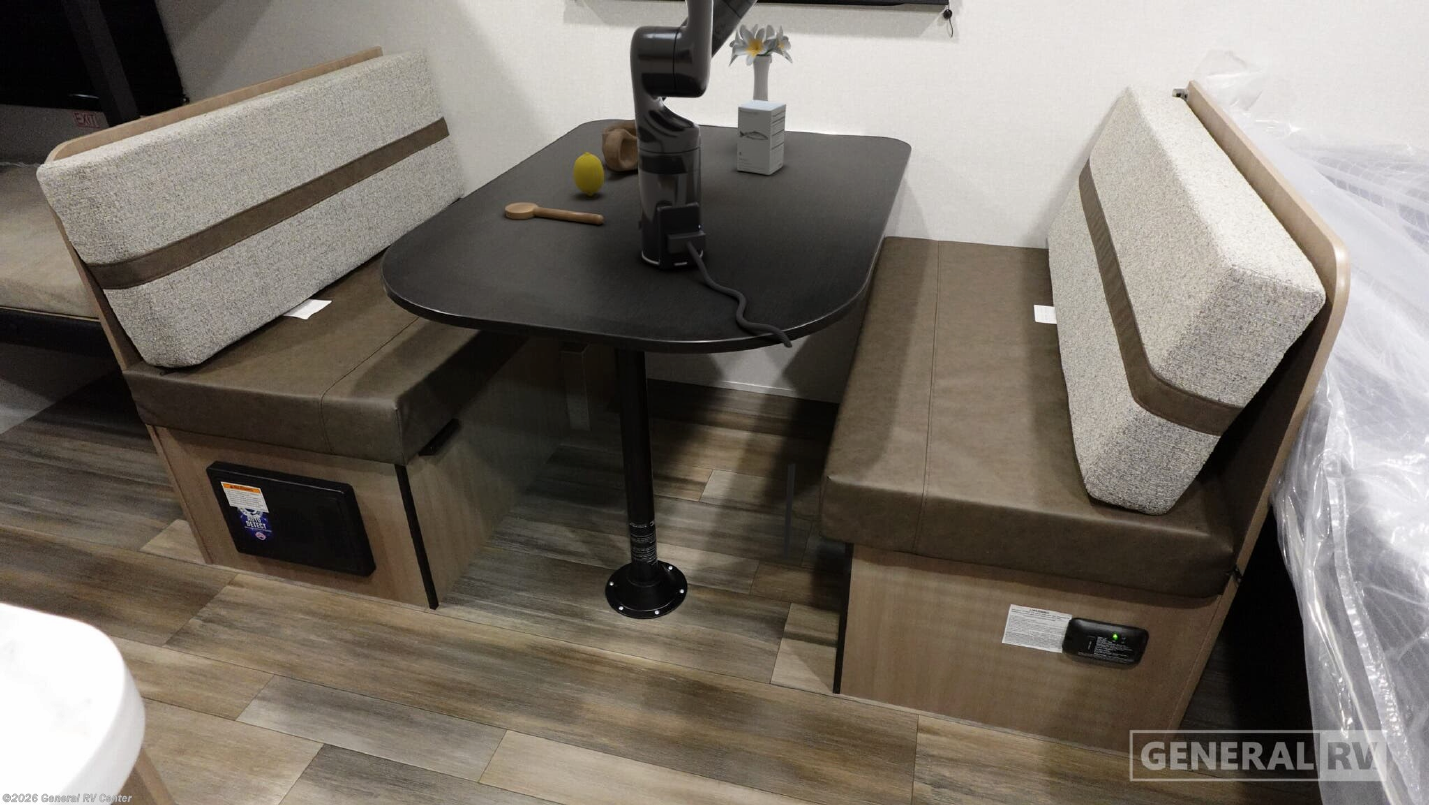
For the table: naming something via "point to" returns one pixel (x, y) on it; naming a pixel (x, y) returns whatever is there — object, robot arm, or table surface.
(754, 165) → the white packaging box
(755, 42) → the flower vase
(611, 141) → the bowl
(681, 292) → the table surface
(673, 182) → the robot arm
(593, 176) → the lemon
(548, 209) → the spoon
